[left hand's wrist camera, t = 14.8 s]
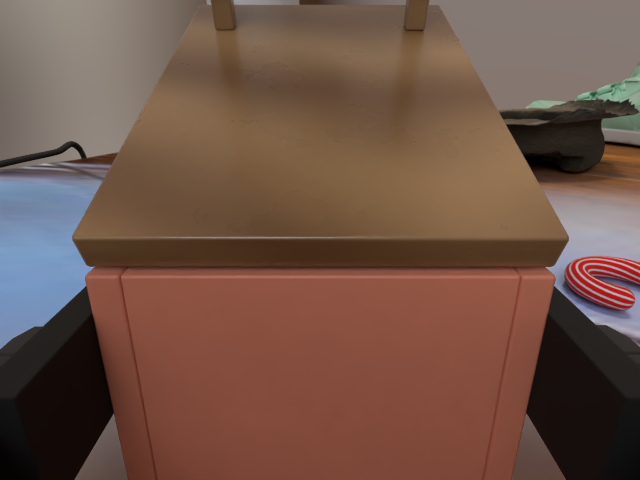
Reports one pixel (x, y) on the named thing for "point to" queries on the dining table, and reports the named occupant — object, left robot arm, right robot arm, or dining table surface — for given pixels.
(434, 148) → the lid
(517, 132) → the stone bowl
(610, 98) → the sneaker
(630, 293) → the candy cane
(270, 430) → the chest
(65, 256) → the dining table surface
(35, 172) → the dining table surface
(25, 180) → the dining table surface
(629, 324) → the dining table surface
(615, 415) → the left robot arm
